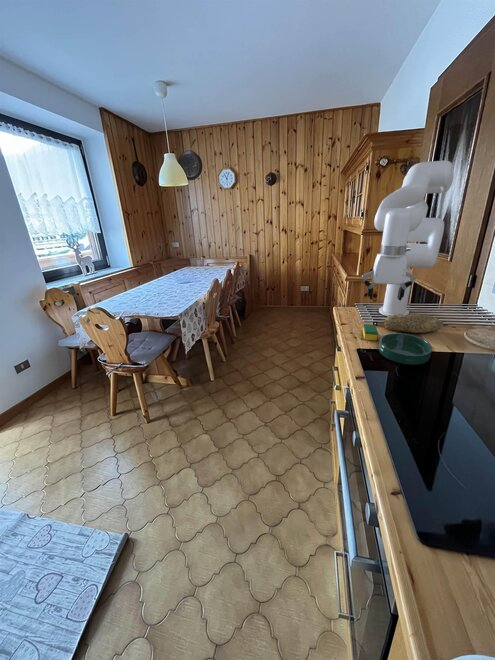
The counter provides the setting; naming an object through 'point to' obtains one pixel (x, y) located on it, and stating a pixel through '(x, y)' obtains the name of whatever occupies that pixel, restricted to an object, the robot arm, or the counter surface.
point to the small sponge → (370, 332)
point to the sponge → (413, 323)
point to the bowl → (405, 348)
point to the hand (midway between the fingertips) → (384, 298)
